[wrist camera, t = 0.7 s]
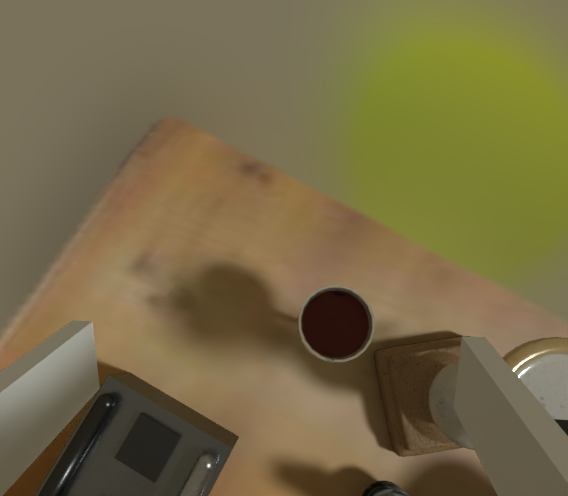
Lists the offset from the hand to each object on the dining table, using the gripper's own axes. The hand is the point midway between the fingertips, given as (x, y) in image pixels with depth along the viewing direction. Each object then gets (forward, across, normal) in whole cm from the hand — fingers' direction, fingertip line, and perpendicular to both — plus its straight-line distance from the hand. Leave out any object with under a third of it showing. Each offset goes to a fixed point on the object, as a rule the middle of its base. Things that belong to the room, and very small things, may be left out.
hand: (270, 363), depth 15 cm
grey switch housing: (+21, +18, +29) cm, 40 cm away
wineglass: (+31, -2, +13) cm, 34 cm away
